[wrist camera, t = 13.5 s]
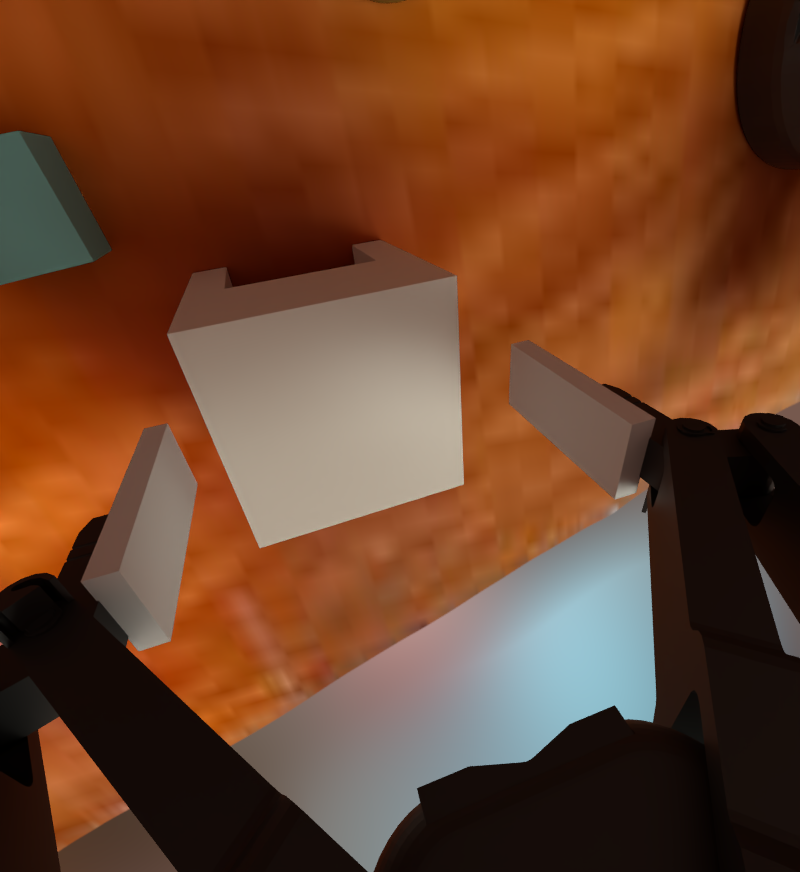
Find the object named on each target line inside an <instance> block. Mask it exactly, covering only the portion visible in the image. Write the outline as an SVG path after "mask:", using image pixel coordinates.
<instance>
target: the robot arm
mask: <svg viewBox="0 0 800 872" xmlns="http://www.w3.org/2000/svg"><path fill="white" fill-rule="evenodd" d="M737 95H738V107H739V114H740V119H741V123H742V127H743V130H744V133H745V136H746V138H747V140H748V142H749V144H750V146H751V148H752V149H753V150H754V152H755V153H756V154H757V155H758V156H759V157H760V158H761V159H762V160H763V161H765V162H766V163H768V164H770V165H772V166H774V167H777V168H782V169H800V0H750V1H749V5H748V10H747V14H746V18H745V22H744V27H743V32H742V38H741V44H740V52H739V60H738V73H737ZM509 404H510V405H511V406H512V407H513V408H514V409H516V410H517V411H518V412H519V413H520V414H521V415H522V416H523V417H524V418H525V419H527V420H528V421H529V422H530V423H531V424H532V425H533V426H534V427H535V428H537V429H538V430H539V431H540V432H541V433H542V434H543V435H544V436H545V437H546V438H548V439H549V440H550V441H551V442H552V443H553V444H554V445H555V446H556V447H557V448H559V449H560V450H561V451H562V452H563V453H564V454H565V455H566V456H567V457H569V458H570V459H571V460H572V461H573V462H574V463H575V464H576V465H577V466H578V467H580V468H581V469H582V470H583V471H584V472H585V473H586V474H587V475H588V476H589V477H591V478H592V479H593V480H594V481H595V482H596V483H597V484H598V485H599V486H601V487H602V488H603V489H604V490H605V491H606V492H607V493H608V494H609V495H610V496H612V497H613V498H614V499H618V498H621V497H624V496H627V495H630V494H634V493H636V491H637V487H638V483H639V479H640V477H641V478H642V479H643V480H645V481H646V482H647V483H648V484H649V488H648V491H647V495H646V498H645V502H644V506H643V509H642V512H644V513H645V512H646V511H647V508H648V530H649V548H650V549H649V551H650V570H651V571H650V572H651V591H652V592H651V593H652V611H653V635H654V655H655V677H656V707H655V713H654V720H653V723H652V722H647V721H642V720H630V719H628V720H624V718H623V717H622V715H621V714H620V712H619V711H618V709H617V708H616V707H615V706H612V707H610V708H607V709H605V710H603V711H600V712H598V713H596V714H593V715H591V716H588V717H586V718H584V719H581V720H579V721H576V722H574V723H572V724H569V725H568V726H567V727H566V728H565V729H564V730H563V731H562V732H561V733H560V734H559V735H557V736H556V737H555V738H554V739H553V740H552V741H551V742H550V743H549V744H548V745H546V746H545V747H544V748H543V749H542V750H541V751H540V752H539V753H538V754H537V755H536V756H534V757H533V758H532V759H531V760H529V761H527V762H521V763H509V764H497V765H484V766H470V767H467V768H464V769H462V770H460V771H457V772H455V773H453V774H450V775H448V776H446V777H443V778H441V779H438V780H436V781H433V782H431V783H429V784H426V785H424V786H422V787H419V788H417V790H418V794H419V798H420V804H419V805H418V806H416V807H415V808H414V809H413V810H412V811H411V812H410V813H409V814H408V815H407V816H406V817H405V818H404V820H403V821H402V822H401V823H400V824H399V825H398V827H397V828H396V830H395V831H394V832H393V834H392V835H391V837H390V838H389V840H388V842H387V844H386V846H385V848H384V850H383V851H382V853H381V855H380V857H379V860H378V862H377V865H376V867H375V870H374V872H800V658H798V657H795V656H791V655H787V654H786V653H785V652H784V650H783V648H782V645H781V642H780V639H779V635H778V632H777V628H776V625H775V621H774V618H773V614H772V611H771V608H770V604H769V601H768V597H767V594H766V591H765V587H764V583H763V580H762V577H761V573H760V570H759V566H758V563H757V559H756V556H757V558H758V559H759V561H760V562H761V564H762V566H763V567H764V569H765V570H766V572H767V573H768V575H769V577H770V578H771V580H772V581H773V583H774V584H775V586H776V587H777V589H778V591H779V592H780V594H781V595H782V597H783V598H784V600H785V602H786V603H787V605H788V606H789V608H790V609H791V611H792V612H793V614H794V616H795V617H796V619H797V620H798V622H799V623H800V426H799V425H798V424H796V423H795V422H793V421H792V420H790V419H787V418H785V417H783V416H780V415H777V414H776V415H775V414H771V413H754V414H749V415H747V416H745V417H744V419H743V421H742V423H741V426H740V428H739V429H731V430H717V428H715V427H714V426H712V425H711V424H709V423H707V422H704V421H701V420H697V419H692V418H678V419H673V420H672V419H670V418H669V417H667V416H665V415H664V414H662V413H660V412H659V411H657V410H655V409H654V408H652V407H650V406H649V405H647V404H645V403H641V401H640V400H638V399H637V398H635V397H632V396H631V395H630V394H628V393H627V392H625V391H623V390H622V389H620V388H617V387H613V386H610V385H607V384H602V385H601V384H599V383H598V382H596V381H594V380H593V379H591V378H589V377H588V376H586V375H585V374H583V373H581V372H580V371H578V370H576V369H575V368H573V367H572V366H570V365H568V364H567V363H565V362H563V361H562V360H560V359H559V358H557V357H555V356H554V355H552V354H550V353H549V352H547V351H545V350H544V349H542V348H541V347H539V346H537V345H536V344H534V343H532V342H531V341H529V340H527V341H522V342H518V343H514V344H511V365H510V391H509ZM774 487H775V489H774ZM196 490H197V482H196V480H195V478H194V476H193V474H192V472H191V470H190V468H189V466H188V464H187V462H186V460H185V458H184V456H183V454H182V452H181V450H180V448H179V446H178V444H177V442H176V440H175V437H174V435H173V433H172V431H171V429H170V427H169V425H168V423H167V424H162V425H158V426H154V427H149V428H145V429H144V430H143V432H142V435H141V437H140V440H139V442H138V444H137V447H136V449H135V452H134V454H133V457H132V459H131V461H130V464H129V466H128V469H127V471H126V473H125V476H124V478H123V481H122V483H121V485H120V488H119V490H118V493H117V495H116V498H115V500H114V502H113V505H112V507H111V510H110V512H109V514H108V515H104V516H100V517H96V518H93V519H92V520H91V521H90V522H89V523H88V524H87V525H86V526H85V527H84V528H83V529H82V530H81V531H80V532H79V534H78V536H77V538H76V540H75V542H74V544H73V547H72V549H73V550H71V551H70V553H69V555H68V557H67V559H66V560H67V562H65V563H64V566H63V568H62V570H61V572H60V574H59V576H58V578H56V577H55V576H54V575H51V574H48V573H40V574H34V575H31V576H28V577H25V578H22V579H20V580H19V581H17V582H15V583H13V584H11V585H10V586H8V587H6V588H5V589H4V590H3V591H1V592H0V642H1V643H2V644H3V645H1V646H0V872H61V871H60V864H59V858H58V852H57V846H56V840H55V833H54V827H53V821H52V815H51V808H50V802H49V796H48V790H47V784H46V777H45V771H44V765H43V759H42V753H41V746H40V740H39V734H38V729H39V728H41V727H43V726H44V725H46V724H47V723H49V722H51V721H52V720H54V719H56V718H57V717H59V716H60V718H61V719H62V720H63V722H64V723H65V724H66V726H67V727H68V728H69V729H70V731H71V732H72V733H73V735H74V736H75V737H76V739H77V740H78V741H79V743H80V744H81V745H82V747H83V748H84V749H85V750H86V752H87V753H88V754H89V756H90V757H91V758H92V760H93V761H94V762H95V764H96V765H97V766H98V768H99V769H100V770H101V771H102V773H103V774H104V775H105V777H106V778H107V779H108V781H109V782H110V783H111V785H112V786H113V787H114V789H115V790H116V791H117V792H118V794H119V795H120V796H121V798H122V799H123V800H124V802H125V803H126V804H127V806H128V807H129V808H130V810H131V811H132V812H133V814H134V815H135V816H136V817H137V819H138V820H139V821H140V823H141V824H142V825H143V827H144V828H145V829H146V831H147V832H148V833H149V835H150V836H151V837H152V838H153V840H154V841H155V842H156V844H157V845H158V846H159V848H160V849H161V850H162V852H163V853H164V854H165V855H166V857H167V858H168V859H169V861H170V862H171V863H172V865H173V866H174V867H175V869H176V870H177V871H178V872H367V871H366V870H365V869H364V868H363V867H362V866H361V865H360V864H359V863H358V862H357V861H356V860H355V859H354V858H353V857H351V856H350V855H349V854H348V853H347V852H346V851H345V850H344V849H343V848H342V847H341V846H340V845H339V844H337V843H336V842H335V841H334V840H333V839H332V838H331V837H330V836H329V835H328V834H327V833H326V832H325V831H324V830H323V829H322V828H321V827H320V826H318V825H317V824H316V823H315V822H314V821H313V820H312V819H311V818H310V817H309V816H308V815H307V814H306V813H305V812H304V811H302V810H301V809H300V808H299V807H298V806H297V805H296V804H295V803H294V802H292V801H291V800H290V799H289V798H287V797H286V796H285V795H282V794H281V793H280V792H278V791H277V790H276V789H275V788H274V787H273V786H272V785H270V784H269V782H267V781H266V780H265V779H264V778H263V777H262V776H261V775H260V774H259V773H258V772H257V771H256V770H255V769H254V768H253V767H252V766H251V765H250V764H248V763H247V762H246V761H245V760H244V759H243V758H242V757H241V756H240V755H239V754H238V753H237V752H236V751H235V750H233V748H232V747H231V746H229V745H228V744H227V743H226V742H225V741H224V740H223V739H222V738H221V737H220V736H219V735H218V734H217V733H216V732H215V731H214V730H213V729H212V728H210V727H209V726H208V725H207V724H206V723H205V722H204V721H203V720H202V719H201V718H200V717H199V716H198V715H197V714H196V713H195V712H194V711H193V710H191V709H190V708H189V707H188V706H187V705H186V704H185V703H184V702H183V701H182V700H181V699H180V698H179V697H178V696H177V695H176V694H175V693H173V692H172V691H171V690H170V689H169V688H168V687H167V686H166V685H165V684H164V683H163V682H162V681H161V680H160V679H159V678H158V677H157V676H156V675H154V674H153V673H152V672H151V671H150V670H149V669H148V668H147V667H146V666H145V665H144V664H143V663H142V662H141V661H140V660H139V659H138V658H137V657H135V656H134V655H133V654H132V653H131V652H130V651H129V650H128V649H127V648H126V644H127V641H128V639H129V640H130V641H131V643H132V644H133V645H134V646H135V647H136V649H137V650H138V651H141V650H144V649H147V648H150V647H154V646H157V645H160V644H163V643H166V642H169V641H171V636H172V630H173V624H174V619H175V613H176V607H177V601H178V595H179V589H180V583H181V578H182V572H183V566H184V560H185V554H186V548H187V543H188V537H189V531H190V525H191V519H192V513H193V507H194V502H195V496H196ZM755 555H756V556H755Z"/></svg>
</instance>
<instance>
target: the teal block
mask: <svg viewBox="0 0 800 872" xmlns="http://www.w3.org/2000/svg"><path fill="white" fill-rule="evenodd" d="M111 250H112V249H111V247H110V245H109V243H108V242H107V240H106V238H105V236H104V234H103V232H102V231H101V229H100V227H99V225H98V223H97V221H96V220H95V218H94V216H93V214H92V212H91V210H90V208H89V207H88V205H87V203H86V201H85V199H84V197H83V196H82V194H81V192H80V190H79V188H78V186H77V185H76V183H75V181H74V179H73V177H72V175H71V174H70V172H69V170H68V168H67V166H66V164H65V163H64V161H63V159H62V157H61V155H60V153H59V152H58V150H57V148H56V146H55V144H54V142H53V141H52V139H51V137H50V136H44V135H39V134H34V133H28V132H23V131H14V132H9V133H4V134H0V285H2V284H6V283H10V282H14V281H18V280H22V279H26V278H30V277H34V276H38V275H42V274H46V273H50V272H54V271H58V270H62V269H66V268H70V267H74V266H78V265H82V264H86V263H90V262H94V261H96V260H97V259H99V258H100V257H102V256H104V255H105V254H107V253H108V252H110V251H111Z"/></svg>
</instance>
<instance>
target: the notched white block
mask: <svg viewBox="0 0 800 872" xmlns="http://www.w3.org/2000/svg"><path fill="white" fill-rule="evenodd" d="M352 250H353V256H354V262H355V265H349V266H344V267H339V268H333V269H328V270H323V271H317V272H312V273H307V274H301V275H296V276H291V277H285V278H280V279H275V280H269V281H264V282H258V283H253V284H248V285H242V286H237V287H233V286H232V283H231V280H230V277H229V274H228V270H227V267H224V268H219V269H213V270H207V271H202V272H196V273H192V276H191V278H190V280H189V283H188V285H187V288H186V290H185V292H184V295H183V297H182V299H181V302H180V304H179V307H178V309H177V311H176V314H175V316H174V318H173V321H172V323H171V326H170V328H169V330H168V333H167V336H168V338H169V341H170V343H171V345H172V348H173V350H174V352H175V354H176V357H177V359H178V361H179V364H180V366H181V368H182V371H183V373H184V375H185V377H186V380H187V382H188V384H189V387H190V389H191V391H192V394H193V396H194V398H195V400H196V403H197V405H198V407H199V410H200V412H201V414H202V417H203V419H204V421H205V423H206V426H207V428H208V430H209V433H210V435H211V437H212V440H213V442H214V444H215V446H216V449H217V451H218V453H219V456H220V458H221V460H222V463H223V465H224V467H225V469H226V472H227V474H228V476H229V479H230V481H231V483H232V486H233V488H234V490H235V492H236V495H237V497H238V499H239V502H240V504H241V506H242V508H243V511H244V513H245V515H246V518H247V520H248V522H249V525H250V527H251V529H252V531H253V534H254V536H255V538H256V541H257V543H258V545H259V548H262V547H265V546H268V545H272V544H275V543H278V542H281V541H284V540H288V539H291V538H294V537H297V536H300V535H304V534H307V533H310V532H313V531H316V530H320V529H323V528H326V527H329V526H332V525H336V524H339V523H342V522H345V521H348V520H352V519H355V518H358V517H361V516H364V515H368V514H371V513H374V512H377V511H380V510H384V509H387V508H390V507H393V506H396V505H400V504H403V503H406V502H409V501H412V500H416V499H419V498H422V497H425V496H428V495H432V494H435V493H438V492H441V491H444V490H447V489H451V488H454V487H457V486H460V485H463V484H464V477H463V447H462V417H461V387H460V357H459V327H458V297H457V276H456V275H454V274H452V273H450V272H448V271H446V270H444V269H442V268H440V267H437V266H435V265H433V264H431V263H429V262H427V261H425V260H423V259H420V258H418V257H416V256H414V255H412V254H410V253H408V252H406V251H403V250H401V249H399V248H397V247H395V246H393V245H391V244H389V243H387V242H384V241H382V240H377V241H371V242H366V243H360V244H354V245H352Z"/></svg>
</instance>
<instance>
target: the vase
mask: <svg viewBox="0 0 800 872" xmlns="http://www.w3.org/2000/svg"><path fill="white" fill-rule="evenodd" d="M370 1H373V2H378V3H397V2H402V1H405V0H370Z"/></svg>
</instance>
